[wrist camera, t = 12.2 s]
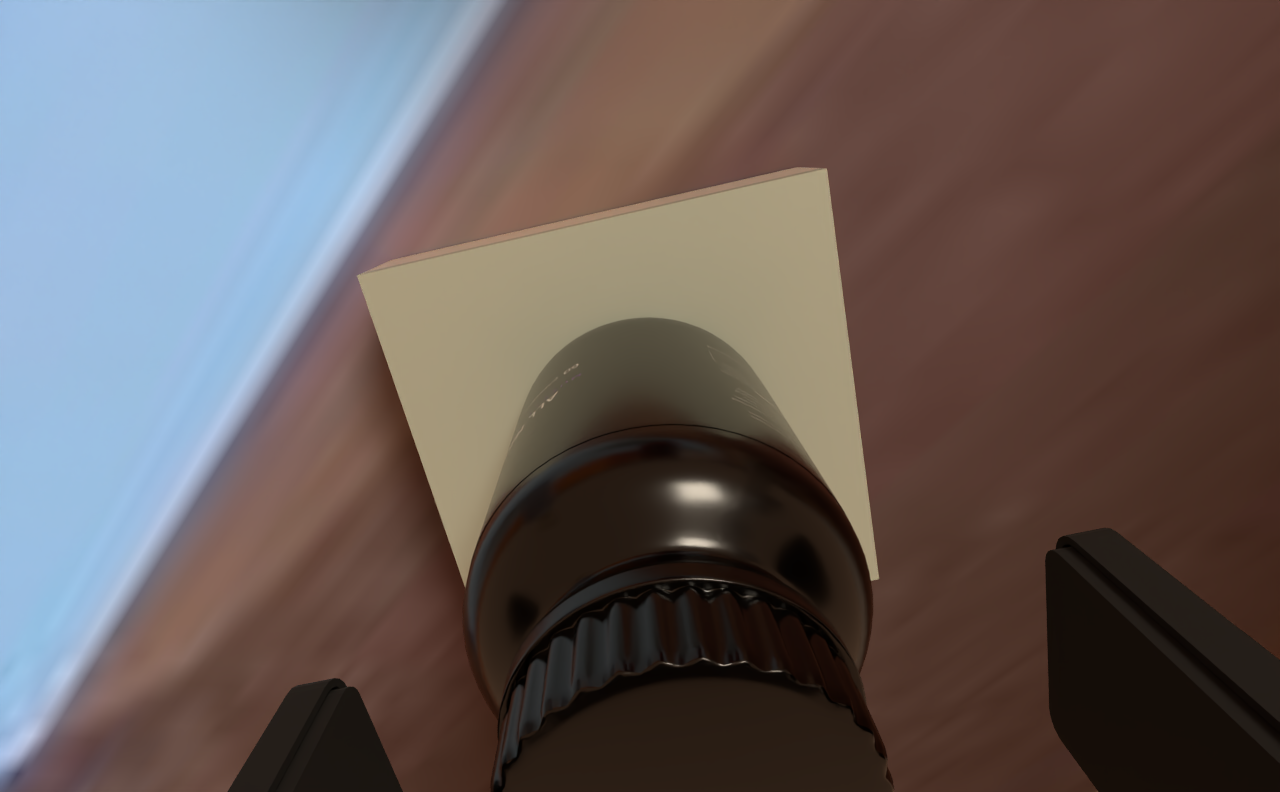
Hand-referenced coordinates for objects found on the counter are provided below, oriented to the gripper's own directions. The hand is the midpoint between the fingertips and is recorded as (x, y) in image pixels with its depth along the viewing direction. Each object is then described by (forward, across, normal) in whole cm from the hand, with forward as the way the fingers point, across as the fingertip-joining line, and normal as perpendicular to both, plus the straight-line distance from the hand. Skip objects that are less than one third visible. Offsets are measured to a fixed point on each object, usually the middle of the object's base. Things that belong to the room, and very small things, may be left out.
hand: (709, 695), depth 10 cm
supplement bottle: (+11, +1, 0) cm, 11 cm away
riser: (+13, +1, +1) cm, 13 cm away
